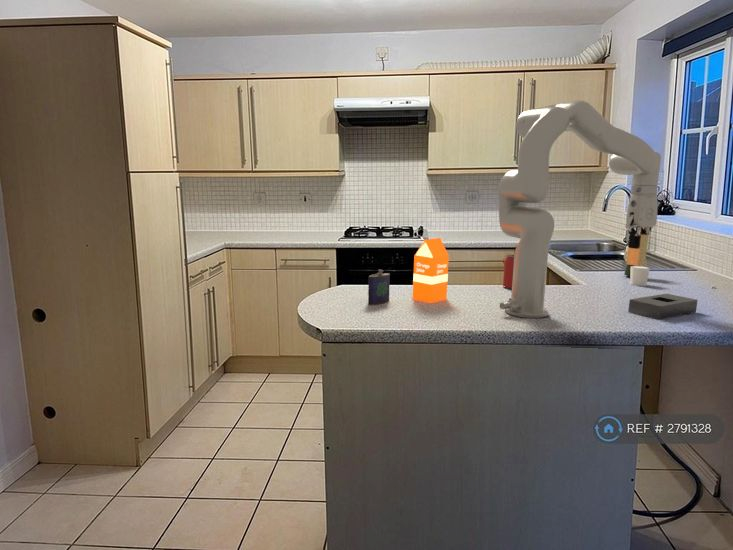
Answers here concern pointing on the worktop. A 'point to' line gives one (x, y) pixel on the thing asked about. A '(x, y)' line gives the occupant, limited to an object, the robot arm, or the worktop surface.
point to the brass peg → (638, 252)
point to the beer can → (508, 271)
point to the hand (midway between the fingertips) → (637, 247)
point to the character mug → (628, 267)
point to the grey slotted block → (662, 306)
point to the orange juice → (430, 272)
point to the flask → (378, 288)
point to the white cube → (639, 275)
